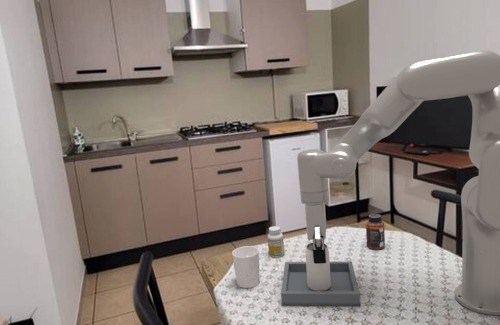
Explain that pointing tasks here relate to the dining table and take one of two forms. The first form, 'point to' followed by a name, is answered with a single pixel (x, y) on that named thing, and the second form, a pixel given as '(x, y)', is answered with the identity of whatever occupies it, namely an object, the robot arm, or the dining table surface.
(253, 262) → the white cup
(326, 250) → the can
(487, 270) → the robot arm
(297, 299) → the tray
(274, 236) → the supplement bottle
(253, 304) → the dining table surface
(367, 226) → the supplement bottle
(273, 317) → the dining table surface
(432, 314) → the dining table surface
